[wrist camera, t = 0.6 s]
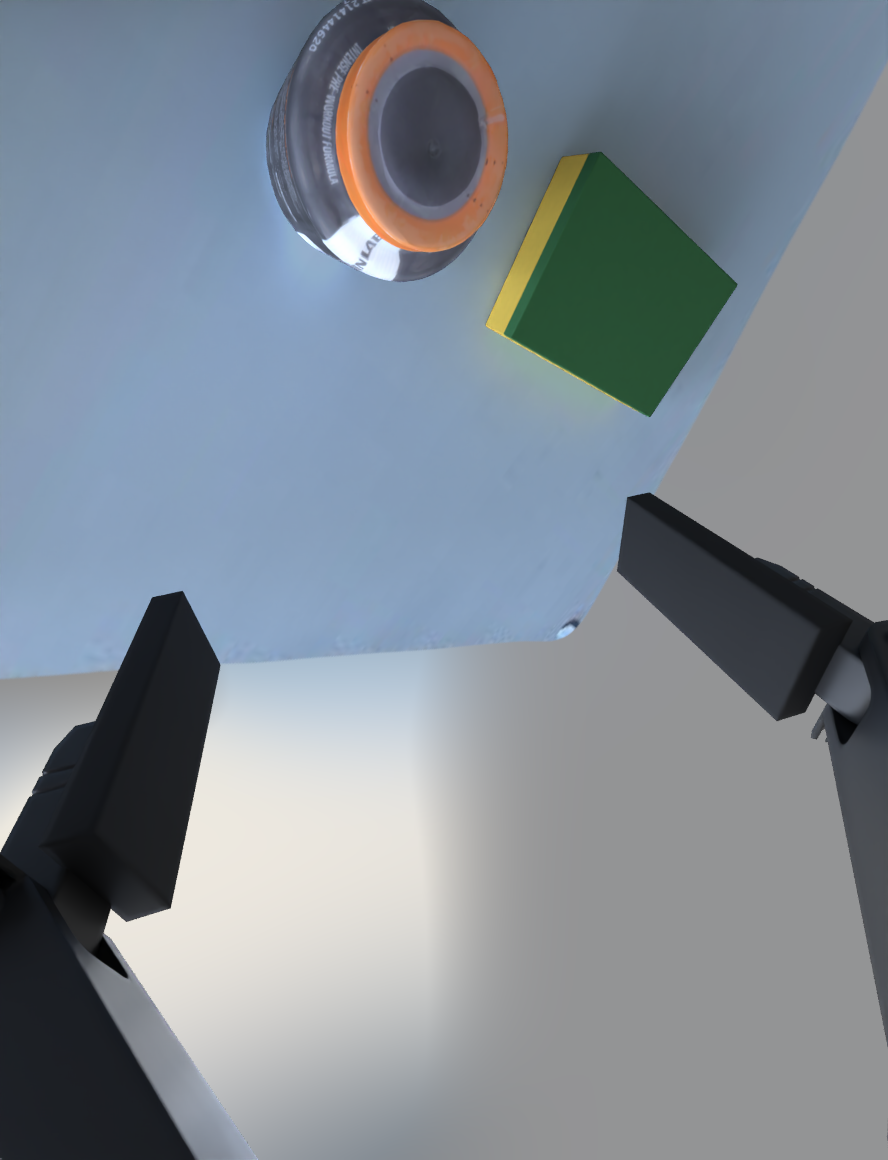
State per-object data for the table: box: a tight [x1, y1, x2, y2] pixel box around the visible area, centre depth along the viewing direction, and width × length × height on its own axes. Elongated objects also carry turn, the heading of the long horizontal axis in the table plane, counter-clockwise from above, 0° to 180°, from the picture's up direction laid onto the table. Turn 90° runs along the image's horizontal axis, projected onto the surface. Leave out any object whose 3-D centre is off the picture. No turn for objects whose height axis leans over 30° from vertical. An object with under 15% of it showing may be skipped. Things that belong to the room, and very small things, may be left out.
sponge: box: [486, 152, 737, 417], centre depth 25 cm, size 11×8×3 cm
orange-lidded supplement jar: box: [266, 0, 508, 282], centre depth 15 cm, size 6×6×11 cm
